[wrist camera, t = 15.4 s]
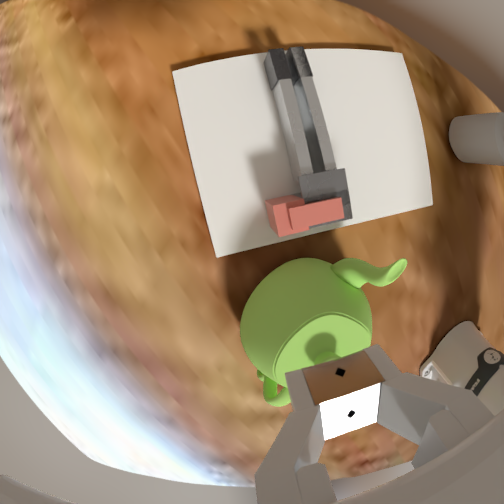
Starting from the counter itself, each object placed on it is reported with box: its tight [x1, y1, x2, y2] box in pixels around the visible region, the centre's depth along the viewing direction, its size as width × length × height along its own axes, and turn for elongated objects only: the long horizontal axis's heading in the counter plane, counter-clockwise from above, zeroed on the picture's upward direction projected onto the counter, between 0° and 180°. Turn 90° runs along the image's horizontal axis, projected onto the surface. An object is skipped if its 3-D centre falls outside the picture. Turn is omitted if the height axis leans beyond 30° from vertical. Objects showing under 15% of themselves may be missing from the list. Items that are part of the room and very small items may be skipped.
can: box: [449, 112, 504, 166], centre depth 26 cm, size 8×8×12 cm
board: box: [172, 49, 433, 257], centre depth 29 cm, size 22×30×2 cm
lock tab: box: [265, 195, 344, 237], centre depth 28 cm, size 3×6×6 cm, turn 103°
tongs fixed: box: [263, 48, 353, 229], centre depth 26 cm, size 18×5×5 cm, turn 13°
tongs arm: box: [285, 47, 337, 173], centre depth 26 cm, size 14×2×4 cm, turn 14°
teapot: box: [240, 258, 407, 407], centre depth 29 cm, size 22×15×13 cm
